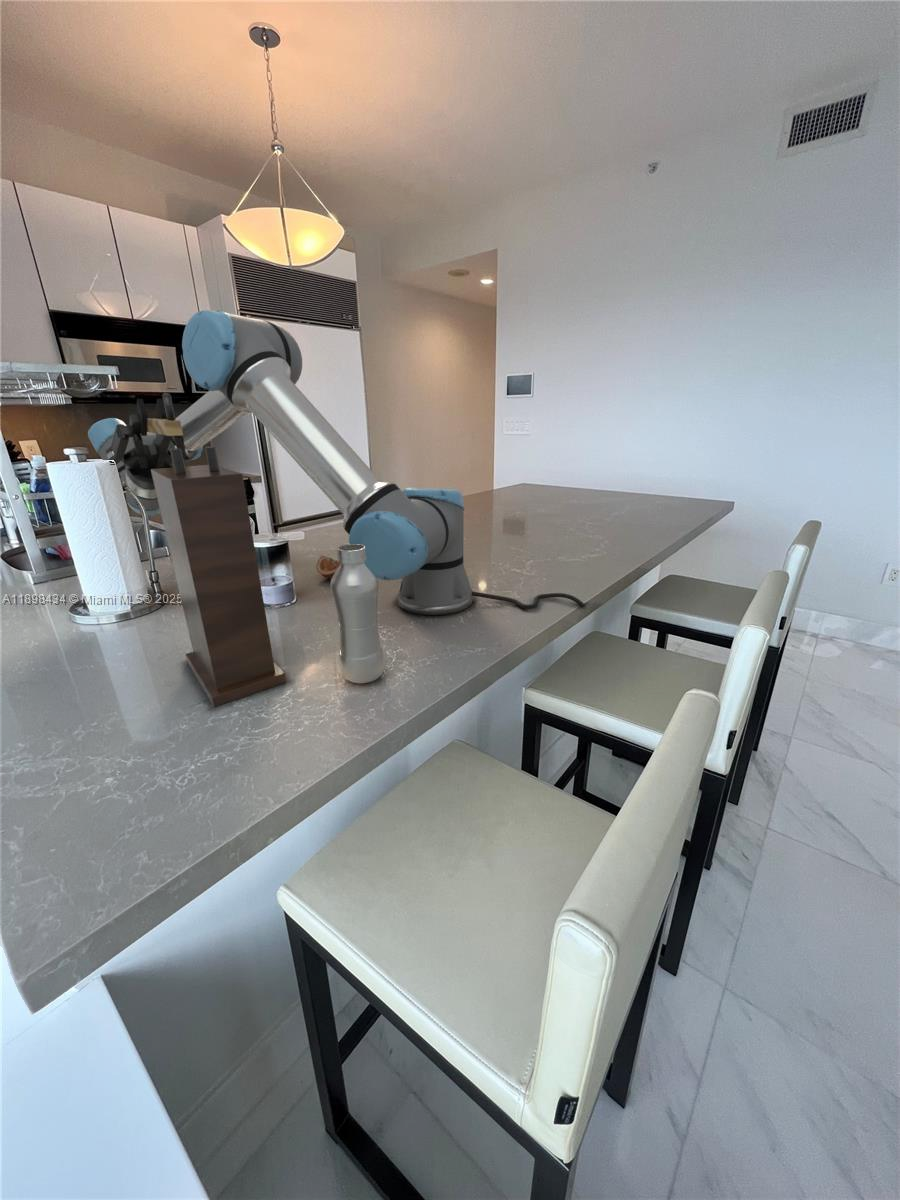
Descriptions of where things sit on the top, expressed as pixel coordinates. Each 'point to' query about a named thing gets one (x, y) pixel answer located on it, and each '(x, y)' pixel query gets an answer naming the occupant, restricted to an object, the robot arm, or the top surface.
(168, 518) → the hook stand
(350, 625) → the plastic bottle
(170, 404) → the hanger bar
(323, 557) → the fruit slice
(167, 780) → the top surface
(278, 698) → the top surface
